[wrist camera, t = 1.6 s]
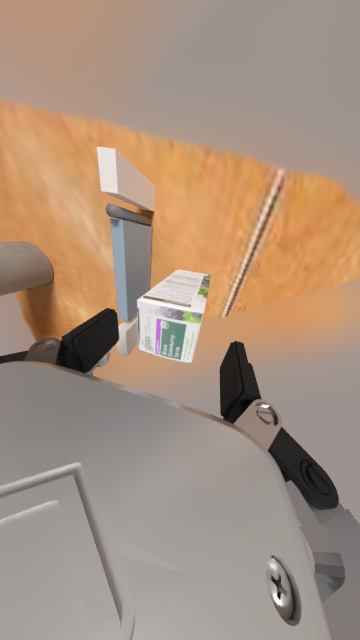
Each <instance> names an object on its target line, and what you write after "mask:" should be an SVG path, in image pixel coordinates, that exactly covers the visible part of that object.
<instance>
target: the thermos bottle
mask: <svg viewBox="0 0 360 640" xmlns="http://www.w3.org/2000/svg"><path fill="white" fill-rule="evenodd" d="M52 279H53V269H52V266H51V264H50V262H49V260H48V258H47V257H46V256H45V254H44V253H43V252H42V251H41V250H40V249H39V248H38V247H36V246H35V245H33V244H31V243H28V242H0V296H1V295H5V294H9V293H13V292H17V291H20V290H24V289H28V288H32V287H36V286H40V285H44V284H47V283H49V282H51V281H52Z"/></svg>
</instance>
